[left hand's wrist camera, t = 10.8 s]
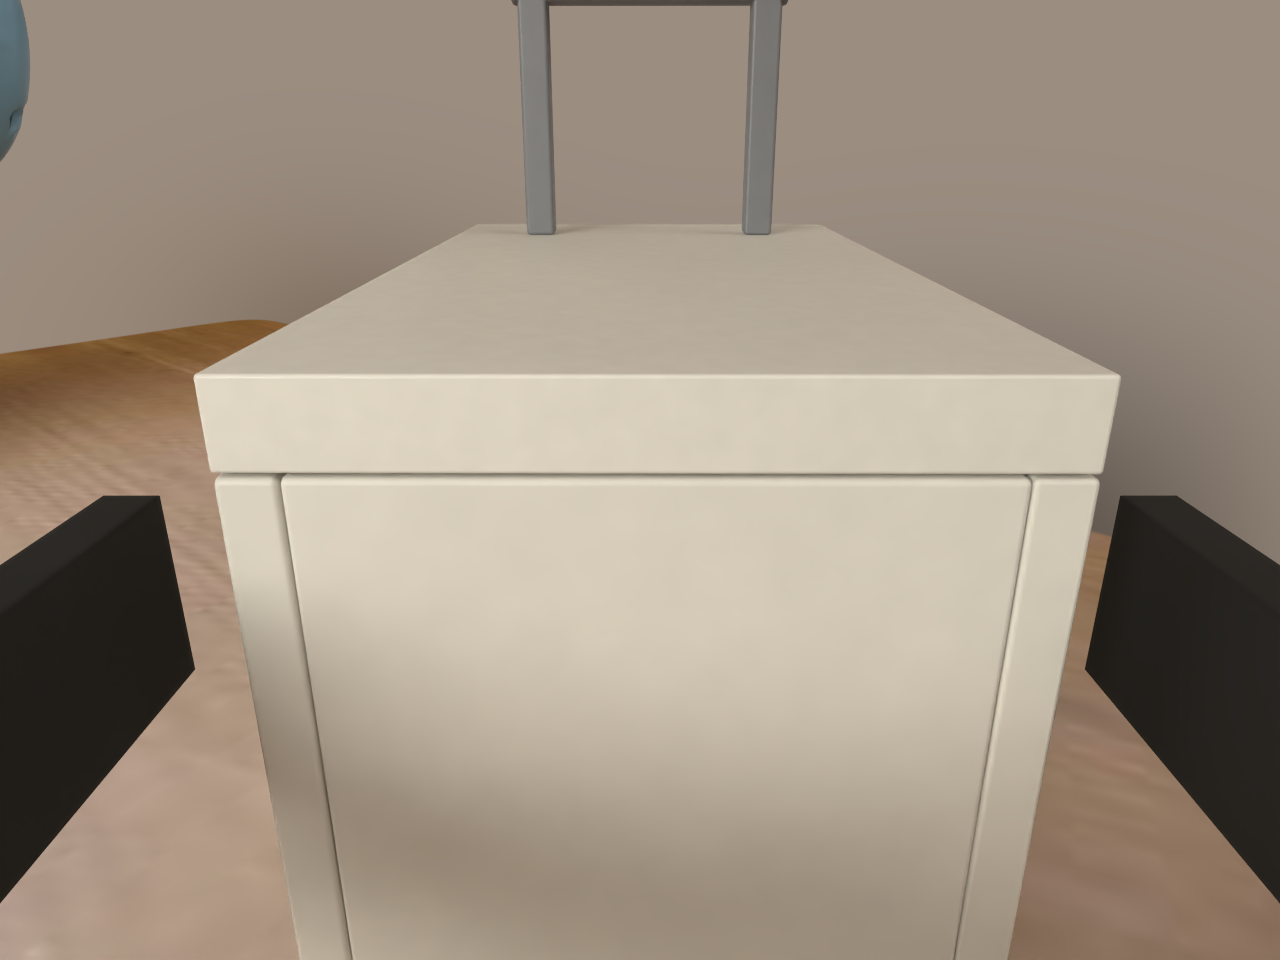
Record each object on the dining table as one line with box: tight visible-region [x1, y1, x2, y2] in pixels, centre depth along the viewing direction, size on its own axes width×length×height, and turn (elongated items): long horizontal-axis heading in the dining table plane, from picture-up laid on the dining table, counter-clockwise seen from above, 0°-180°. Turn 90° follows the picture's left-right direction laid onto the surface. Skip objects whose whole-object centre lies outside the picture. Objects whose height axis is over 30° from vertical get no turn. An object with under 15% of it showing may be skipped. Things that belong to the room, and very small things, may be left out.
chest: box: [215, 473, 1100, 960], centre depth 20 cm, size 17×10×9 cm, turn 0°
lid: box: [194, 0, 1121, 474], centre depth 17 cm, size 18×10×8 cm, turn 0°
